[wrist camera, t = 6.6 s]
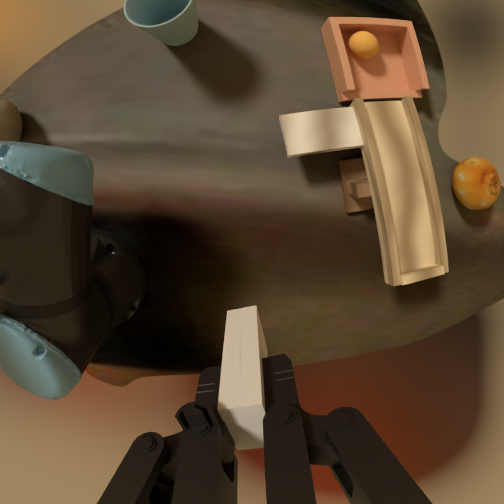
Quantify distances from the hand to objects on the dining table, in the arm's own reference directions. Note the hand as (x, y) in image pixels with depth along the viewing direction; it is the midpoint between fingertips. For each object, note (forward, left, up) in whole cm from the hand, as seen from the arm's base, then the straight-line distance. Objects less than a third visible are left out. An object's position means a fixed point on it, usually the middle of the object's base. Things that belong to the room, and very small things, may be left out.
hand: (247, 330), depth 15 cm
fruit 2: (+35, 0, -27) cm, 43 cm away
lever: (+15, +1, -21) cm, 25 cm away
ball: (+19, +20, -24) cm, 37 cm away
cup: (-4, +28, -26) cm, 38 cm away
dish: (+20, +18, -26) cm, 38 cm away
